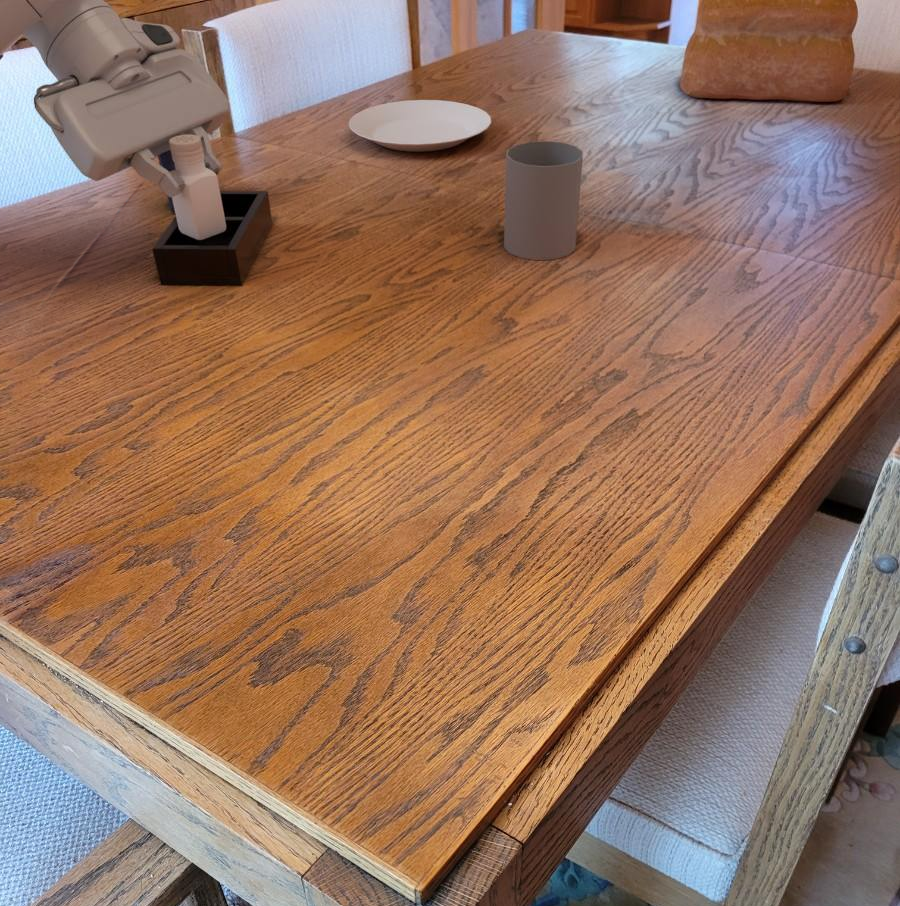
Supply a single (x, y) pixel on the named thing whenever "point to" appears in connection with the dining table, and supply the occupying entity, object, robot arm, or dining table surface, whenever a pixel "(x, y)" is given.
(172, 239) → the box
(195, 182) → the salt shaker
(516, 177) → the cup
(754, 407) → the dining table surface
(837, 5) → the bread
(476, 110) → the plate
